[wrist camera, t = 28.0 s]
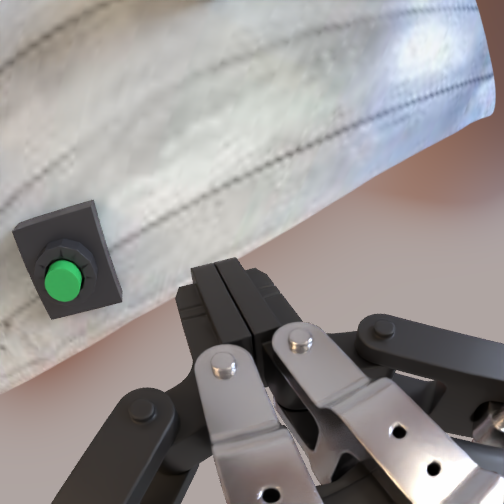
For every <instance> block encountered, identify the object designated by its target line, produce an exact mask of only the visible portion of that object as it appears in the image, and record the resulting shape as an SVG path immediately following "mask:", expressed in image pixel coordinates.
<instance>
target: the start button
mask: <svg viewBox="0 0 504 504" xmlns="http://www.w3.org/2000/svg"><path fill="white" fill-rule="evenodd" d="M81 281H82V275H81V272H80V270H79V268H78V267H77V266H76V265H75V264H74V263H72V262H71V261H68V260H58V261H56V262H54V263H53V264H52V265H51V266H50V268H49V270H48V272H47V275H46V278H45V288H46V290H47V292H48V293H49V295H50V296H51V297H53V298H54V299H56V300H58V301H63V302H66V301H71V300H73V299H74V298H76V297H77V295H78V294H79V291H80V286H81Z"/></svg>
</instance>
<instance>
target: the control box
mask: <svg viewBox="0 0 504 504" xmlns="http://www.w3.org/2000/svg"><path fill="white" fill-rule="evenodd" d="M12 233H13V235H14V238H15V241H16V243H17V246H18V248H19V251H20V253H21V256H22V258H23V261H24V263H25V266H26V268H27V270H28V272H29V275H30V277H31V279H32V281H33V284H34V286H35V288H36V290H37V292H38V294H39V296H40V298H41V300H42V302H43V304H44V306H45V308H46V310H47V312H48V314H49V316H50V318H51V320H52V319H56V318H61V317H65V316H69V315H73V314H77V313H81V312H85V311H89V310H93V309H97V308H101V307H105V306H109V305H113V304H116V303H120V302H122V289H121V286H120V284H119V281H118V278H117V275H116V272H115V269H114V266H113V263H112V260H111V257H110V254H109V251H108V248H107V245H106V242H105V238H104V235H103V232H102V228H101V225H100V221H99V218H98V214H97V211H96V207H95V203H94V200H91V201H87V202H84V203H80V204H77V205H73V206H70V207H67V208H64V209H60V210H57V211H54V212H51V213H48V214H44V215H41V216H38V217H35V218H32V219H29V220H26V221H23V222H20V223H18V224H17V226H16V227H15V228H14V230H13V231H12ZM58 260H68V261H71V262H72V263H74V264H75V265H76V266H77V267H78V268H79V270H80V272H81V275H82V281H81V286H80V291H79V294H78V295H77V297H76V298H74V299H73V300H71V301H66V302H63V301H58V300H56V299H54V298H53V297H51V296H50V295H49V293H48V292H47V290H46V288H45V278H46V275H47V272H48V270H49V268H50V266H51V265H52V264H53V263H54V262H56V261H58Z"/></svg>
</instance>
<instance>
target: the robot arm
mask: <svg viewBox="0 0 504 504" xmlns="http://www.w3.org/2000/svg"><path fill="white" fill-rule="evenodd" d="M191 275H192V280H193V284H190V285H186V286H182V287H179V289H178V292H177V295H176V298H175V299H176V303H177V307H178V311H179V314H180V318H181V322H182V326H183V329H184V333H185V336H186V339H187V343H188V346H189V349H190V353H191V355H192V359H193V365H192V369H191V371H190V373H189V375H188V376H187V377H186V378H185V379H184V380H183V381H182V382H181V383H180V384H178V385H177V386H175V387H174V388H172V389H170V390H168V391H166V392H165V393H164V392H163V391H161V390H158V389H155V388H140V389H136V390H133V391H131V392H129V393H128V394H126V395H125V396H124V397H123V398H122V399H121V400H120V401H119V403H118V404H117V405H116V407H115V408H114V410H113V411H112V413H111V414H110V416H109V417H108V419H107V420H106V422H105V423H104V424H103V426H102V427H101V429H100V430H99V432H98V433H97V435H96V436H95V438H94V439H93V441H92V442H91V444H90V445H89V447H88V448H87V450H86V451H85V453H84V454H83V456H82V457H81V459H80V460H79V462H78V463H77V465H76V466H75V468H74V469H73V471H72V472H71V474H70V476H69V477H68V478H67V480H66V482H65V483H64V484H63V486H62V487H61V489H60V491H59V492H58V494H57V495H56V497H55V498H54V500H53V501H52V503H51V504H181V502H182V500H183V498H184V496H185V494H186V492H187V490H188V488H189V485H190V484H191V482H192V479H193V477H194V475H195V473H196V471H197V469H198V467H199V463H201V462H202V461H204V460H205V459H207V458H208V457H210V456H212V455H213V458H214V462H215V465H216V469H217V472H218V476H219V479H220V483H221V486H222V490H223V493H224V496H225V500H226V503H227V504H504V344H502V343H498V342H494V341H490V340H486V339H481V338H477V337H473V336H469V335H465V334H461V333H457V332H453V331H449V330H445V329H441V328H437V327H433V326H429V325H425V324H422V323H418V322H413V321H410V320H406V319H402V318H398V317H395V316H391V315H386V314H373V315H370V316H367V317H366V318H364V319H363V320H362V321H361V322H360V324H359V326H358V330H357V331H353V332H346V333H335V334H329V333H325V332H324V331H323V330H322V329H321V328H320V327H318V326H316V325H314V324H311V323H307V322H303V321H302V320H301V318H300V317H299V316H298V315H297V313H296V312H295V311H294V309H293V308H292V307H291V305H290V304H289V303H288V302H287V300H286V299H285V298H284V296H283V295H282V294H280V291H279V290H278V288H277V287H276V286H274V283H273V282H272V281H271V279H270V278H269V277H268V275H267V274H265V273H263V272H261V271H259V270H258V269H256V268H252V269H249V270H244V268H243V267H242V265H241V264H240V262H239V261H238V259H237V258H236V257H235V258H230V259H226V260H222V261H218V262H214V264H213V263H210V264H206V265H202V266H198V267H194V268H191ZM396 370H399V371H402V372H406V373H410V374H414V375H417V376H421V377H425V378H429V379H433V380H434V381H423V380H419V379H415V378H411V377H408V376H404V375H400V374H397V373H395V371H396ZM265 387H269V388H270V390H271V392H272V394H273V402H274V407H275V409H276V411H277V412H278V413H279V415H280V417H281V418H282V420H283V421H284V423H285V424H286V426H287V427H288V429H289V430H290V431H289V430H288V429H287V427H286V426H285V425H281V423H280V422H279V420H278V418H277V415H276V413H275V411H274V408H273V406H272V404H271V401H270V399H269V396H268V394H267V392H266V390H265ZM290 432H291V433H292V434H293V436H294V437H295V439H296V440H297V442H298V443H299V445H300V446H301V448H302V449H303V451H304V452H305V454H306V455H307V457H308V459H309V462H310V465H311V468H312V471H313V473H314V475H315V476H316V478H317V480H318V481H319V482H320V484H321V485H319V486H315V484H314V483H313V480H312V478H311V476H310V474H309V472H308V470H307V468H306V466H305V463H304V461H303V459H302V457H301V454H300V452H299V450H298V448H297V446H296V444H295V442H294V439H293V437H292V435H291V434H290ZM445 432H446V433H451V434H456V435H461V436H466V437H471V438H473V440H472V442H470V441H466V440H462V439H457V438H453V437H449V436H448V435H447V434H446V433H445Z"/></svg>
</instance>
